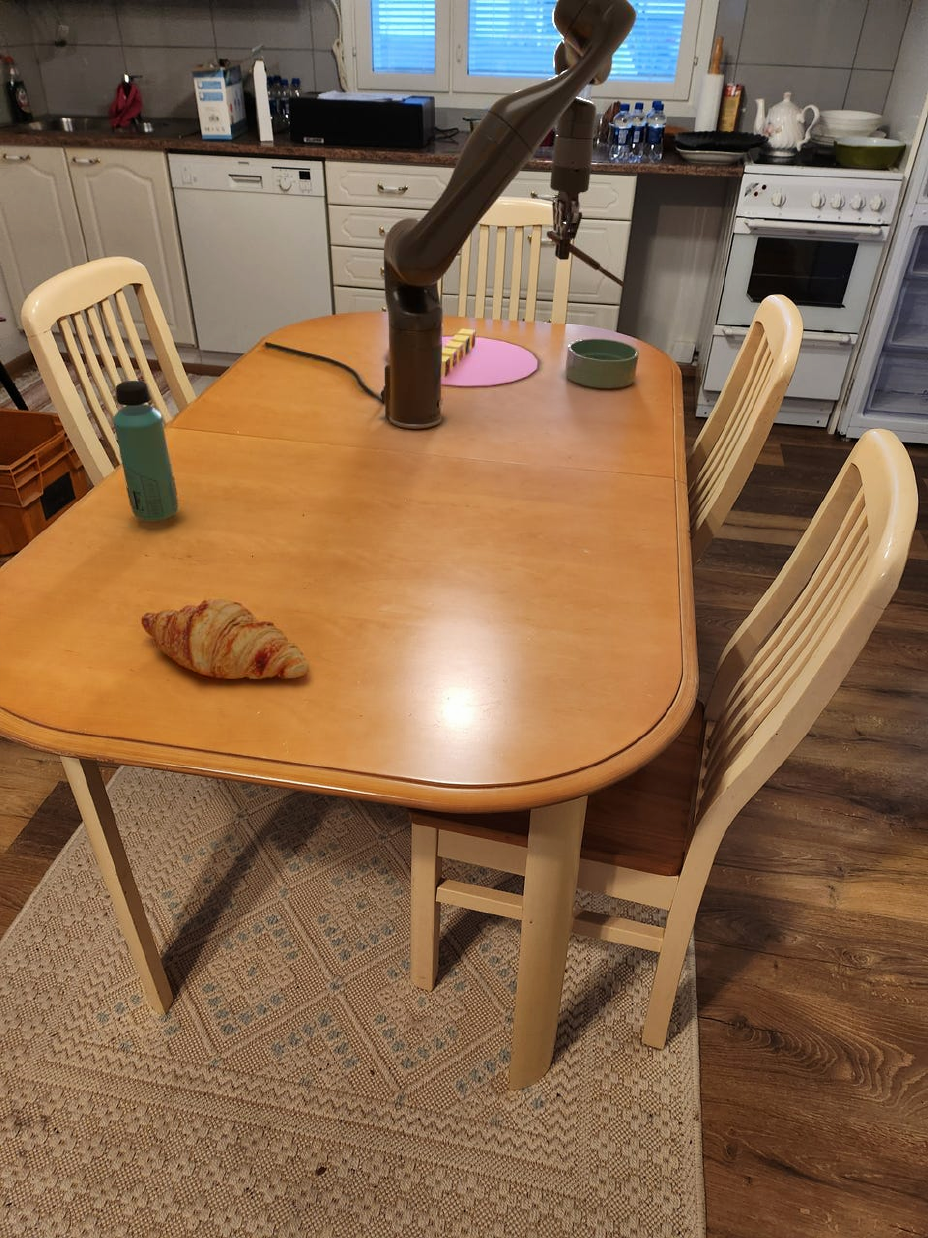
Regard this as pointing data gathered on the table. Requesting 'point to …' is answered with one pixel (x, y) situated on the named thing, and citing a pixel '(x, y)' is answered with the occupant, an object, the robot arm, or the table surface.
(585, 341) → the bowl
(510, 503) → the table surface
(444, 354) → the platter
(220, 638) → the croissant
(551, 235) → the spatula
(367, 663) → the table surface
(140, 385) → the beverage bottle
